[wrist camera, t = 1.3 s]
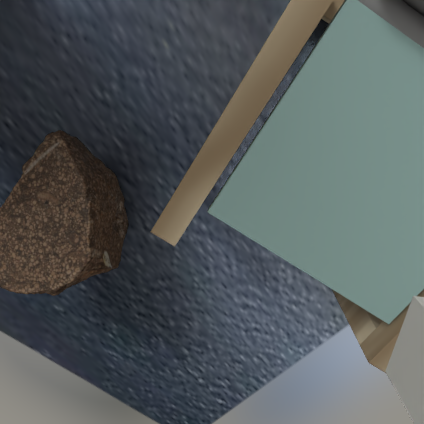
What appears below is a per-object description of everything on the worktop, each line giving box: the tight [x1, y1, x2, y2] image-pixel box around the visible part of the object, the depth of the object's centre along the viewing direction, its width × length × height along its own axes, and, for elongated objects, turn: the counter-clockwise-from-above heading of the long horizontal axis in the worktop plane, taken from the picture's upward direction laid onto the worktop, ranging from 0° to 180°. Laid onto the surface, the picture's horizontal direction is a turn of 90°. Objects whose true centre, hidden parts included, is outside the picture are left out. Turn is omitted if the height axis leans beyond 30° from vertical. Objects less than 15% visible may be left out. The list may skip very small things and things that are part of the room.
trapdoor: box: [208, 0, 424, 324], centre depth 16 cm, size 12×17×4 cm
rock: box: [0, 130, 129, 296], centre depth 27 cm, size 12×10×10 cm
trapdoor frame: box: [151, 0, 424, 373], centre depth 22 cm, size 16×18×13 cm
